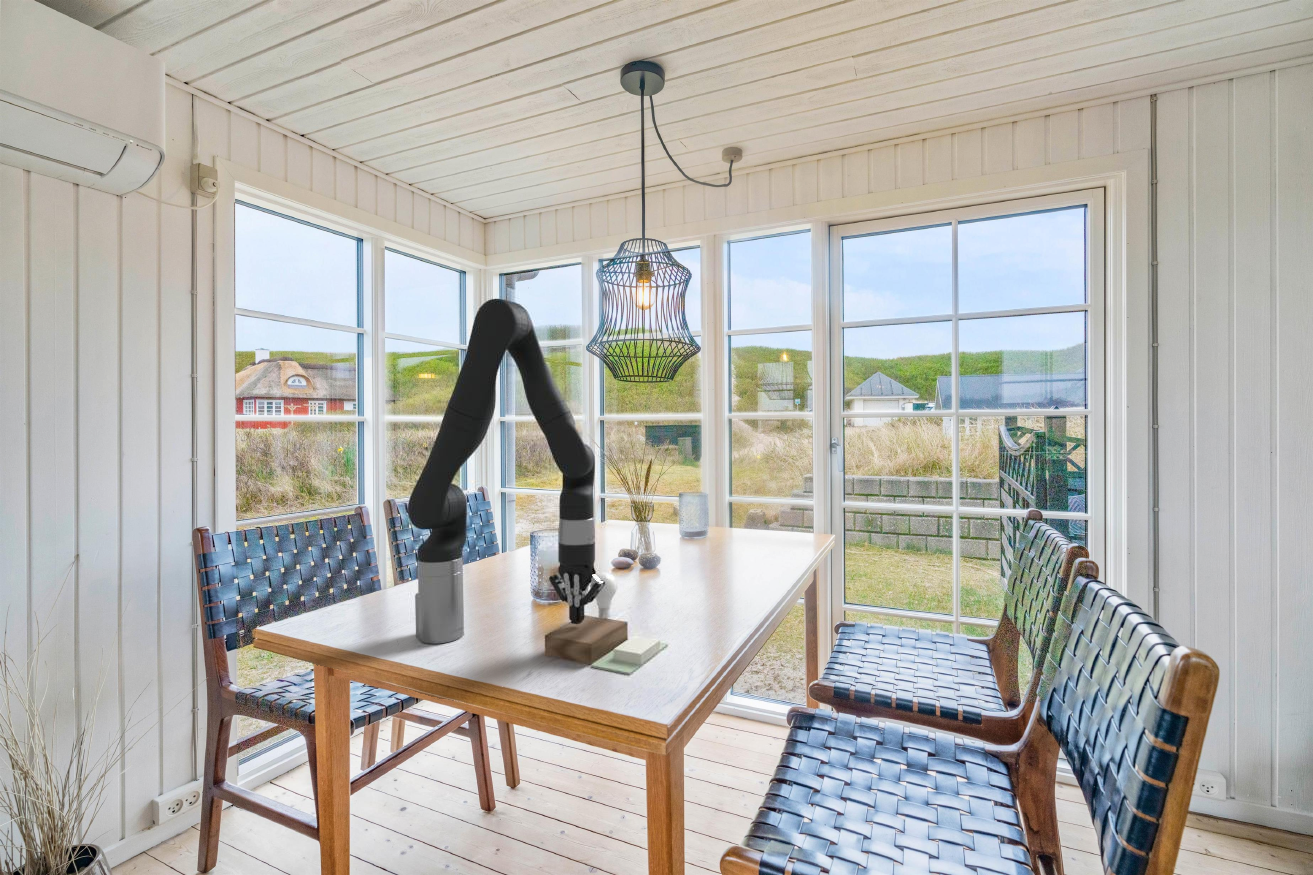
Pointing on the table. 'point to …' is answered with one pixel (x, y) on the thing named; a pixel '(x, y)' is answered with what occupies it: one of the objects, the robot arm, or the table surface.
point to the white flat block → (637, 649)
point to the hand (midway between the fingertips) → (576, 622)
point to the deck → (586, 639)
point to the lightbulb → (606, 594)
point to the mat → (621, 663)
